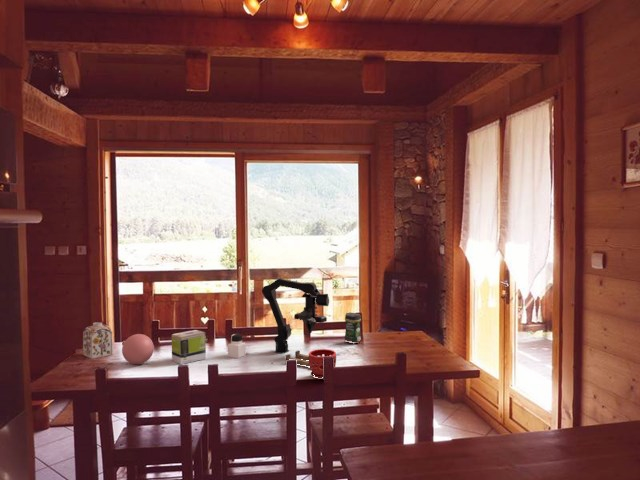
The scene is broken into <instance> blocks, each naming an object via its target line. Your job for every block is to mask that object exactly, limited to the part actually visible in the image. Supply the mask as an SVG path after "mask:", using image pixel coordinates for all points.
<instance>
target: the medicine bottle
mask: <svg viewBox="0 0 640 480" xmlns="http://www.w3.org/2000/svg"><path fill="white" fill-rule="evenodd" d="M246 343H247V342H244V341H243V335H242V334H240V333H233V334H232V335H231V337H230V343H228V344H227V358H234V359H241V358H243V357H245V356H246V351H247V350H246V349H247V348H246V347H247V346H246Z"/></svg>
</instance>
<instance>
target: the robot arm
mask: <svg viewBox="0 0 640 480" xmlns="http://www.w3.org/2000/svg"><path fill="white" fill-rule="evenodd" d="M280 287H283V288H285V287H286V288H289V289H295V290H299V291H301V292H303V294H302V296H301V298H304V299H305V301H304V303H305V306H304V307H303V310H302V311H301V312H298V313H295V314H294V316H293V317H294V318H293V319H294V320H299V321H302V322H304V324H305V325H306V328H307V331H308V333H309V334H312V333H313V331H314V328H315V327H316V324H317V323H319V324H320V323H321V324H322V323H326V322H327V319H328V318H327V316H326V315H318V313H316V310H317V309H318V307H329V305H330V298H329V294H328V293H321V292H320V291H319V290H318V287H317V285H316V283H315V282H311V281H310V282H309V281H308V282H306V281H305V282H300V281H296V280H295V281H294V280H290V279H284V278H282V277H280V278H277V279H275V281H273V282H271V283H270V284H267V285H264V286H263V287H262V289H261V293H262V295H263V296H264V299H265V300H266V301H267V302H268V304H269V306H270V307H269V308H271V312H272V314H273V317H274V320H275V322H276V326H277V329H276V332H277V335H276V336H275V337H274V338H273V339H274V343H275V350H273V353H278V354H284V353H288V352H289V351H290V350H289V344H288V340H289V338H290V337H291V335H292V331H293V330H292V328H291V325H290V323H287V322H286V321H285V319H284V315H283V313H282V311H281V309H280V306H279V303H278V300H277V292H276V291H277V289H279V288H280ZM317 306H318V307H317Z"/></svg>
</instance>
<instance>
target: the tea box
mask: <svg viewBox="0 0 640 480" xmlns="http://www.w3.org/2000/svg"><path fill="white" fill-rule="evenodd" d="M206 347H207V345H206V332H205V331H201V330H198V329H193V330H188V331H183V332H182V331H181V332H178V333H173V334H171V361H172V362H174V363H177V364H179V365H184V364H189V363H193V362H197V361H201V360H206V359H207V358H206V357H207V354H206V353H207V350H206Z"/></svg>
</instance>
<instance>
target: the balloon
mask: <svg viewBox="0 0 640 480" xmlns="http://www.w3.org/2000/svg"><path fill="white" fill-rule="evenodd" d="M121 345H122V349H121V353H122V356H123V358H124V359H125V360H126V361H127V363H130V364H131V365H143V364H144V363H146V362H148V361H149V360H150V359H151V357H152V356H153V354H154V349H155V347H154V343H153V341H152V339H151V338H150V337H149V336H147V334H141V333H136V334H132V335H131V336H129V337H127V338H126V339H125V340H122V342H121Z"/></svg>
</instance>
